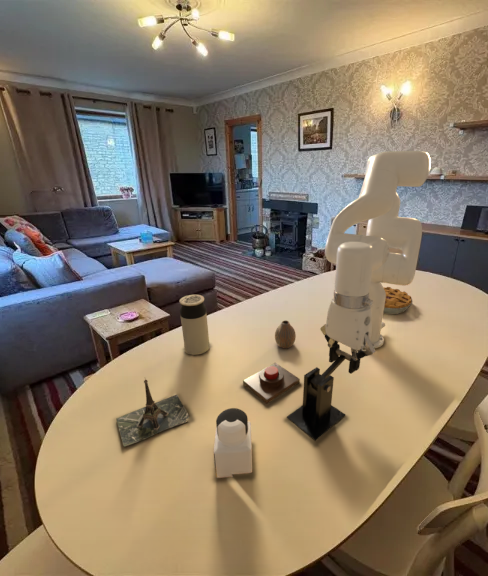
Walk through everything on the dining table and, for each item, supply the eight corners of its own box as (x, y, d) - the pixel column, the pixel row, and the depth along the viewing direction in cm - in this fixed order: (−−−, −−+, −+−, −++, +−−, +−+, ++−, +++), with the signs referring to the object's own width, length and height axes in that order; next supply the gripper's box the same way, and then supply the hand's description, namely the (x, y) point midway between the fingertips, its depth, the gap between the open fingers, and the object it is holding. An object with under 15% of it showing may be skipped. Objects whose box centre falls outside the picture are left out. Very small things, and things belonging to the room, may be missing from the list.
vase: (293, 352, 100) (294, 328, 97) (273, 349, 101) (273, 326, 98) (296, 340, 106) (297, 318, 103) (276, 338, 107) (277, 316, 104)
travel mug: (214, 345, 104) (210, 296, 97) (199, 358, 97) (194, 306, 90) (195, 339, 107) (189, 292, 100) (179, 352, 100) (172, 301, 93)
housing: (275, 368, 92) (275, 357, 91) (299, 385, 85) (300, 373, 84) (243, 386, 85) (242, 374, 83) (267, 406, 78) (266, 394, 76)
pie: (415, 300, 136) (417, 290, 134) (405, 321, 119) (408, 309, 117) (366, 290, 147) (367, 280, 145) (351, 307, 130) (352, 296, 128)
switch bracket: (316, 398, 80) (319, 357, 76) (345, 418, 74) (350, 375, 69) (286, 420, 74) (287, 377, 69) (315, 444, 67) (318, 398, 63)
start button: (271, 369, 86) (271, 364, 85) (280, 375, 83) (280, 370, 83) (262, 375, 84) (261, 369, 83) (270, 381, 81) (270, 376, 81)
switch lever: (338, 352, 77) (337, 345, 76) (355, 361, 74) (354, 354, 72) (306, 384, 71) (305, 377, 70) (323, 395, 68) (322, 389, 67)
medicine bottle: (218, 447, 67) (214, 404, 62) (251, 445, 67) (250, 402, 63) (216, 479, 60) (211, 433, 56) (252, 476, 61) (250, 430, 56)
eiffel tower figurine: (178, 395, 82) (171, 352, 76) (191, 420, 74) (185, 374, 69) (116, 419, 74) (104, 374, 69) (124, 450, 66) (111, 402, 61)
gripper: (394, 305, 65) (383, 375, 72) (330, 283, 77) (325, 345, 84) (376, 316, 60) (365, 390, 67) (310, 291, 72) (307, 356, 79)
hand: (343, 364), depth 75 cm, fingers closed on switch lever, 5 cm apart
